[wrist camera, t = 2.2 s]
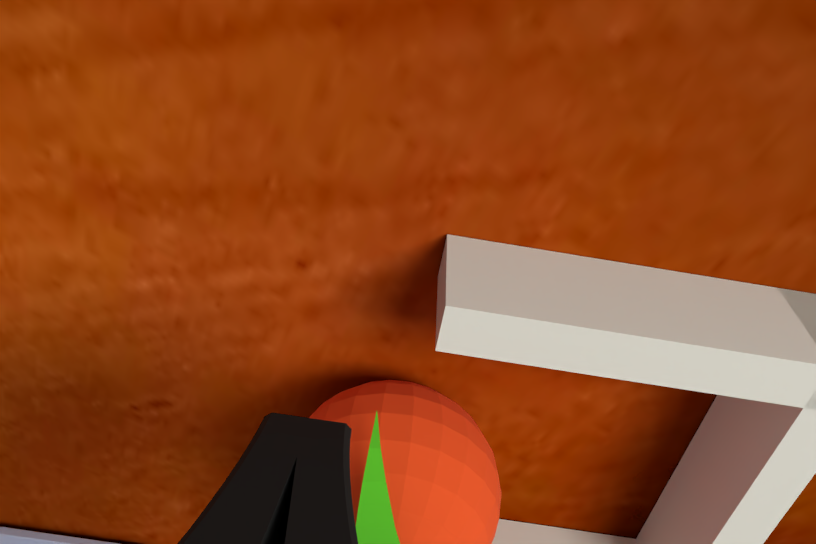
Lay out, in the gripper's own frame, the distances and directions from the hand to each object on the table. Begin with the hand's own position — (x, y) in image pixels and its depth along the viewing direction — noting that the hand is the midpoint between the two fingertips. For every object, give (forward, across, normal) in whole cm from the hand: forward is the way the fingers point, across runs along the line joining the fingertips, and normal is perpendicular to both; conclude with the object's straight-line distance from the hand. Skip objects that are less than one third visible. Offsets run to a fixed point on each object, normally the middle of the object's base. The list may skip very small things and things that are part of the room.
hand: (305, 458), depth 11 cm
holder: (+10, -8, +8) cm, 15 cm away
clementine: (+10, -2, +8) cm, 13 cm away
